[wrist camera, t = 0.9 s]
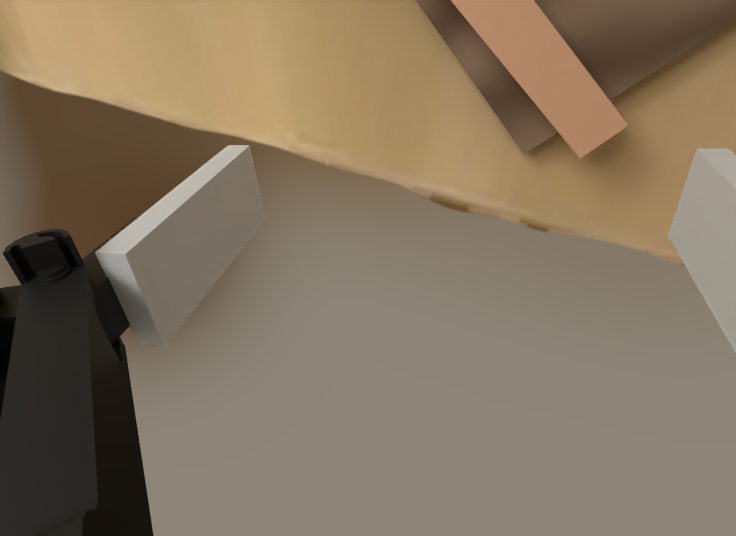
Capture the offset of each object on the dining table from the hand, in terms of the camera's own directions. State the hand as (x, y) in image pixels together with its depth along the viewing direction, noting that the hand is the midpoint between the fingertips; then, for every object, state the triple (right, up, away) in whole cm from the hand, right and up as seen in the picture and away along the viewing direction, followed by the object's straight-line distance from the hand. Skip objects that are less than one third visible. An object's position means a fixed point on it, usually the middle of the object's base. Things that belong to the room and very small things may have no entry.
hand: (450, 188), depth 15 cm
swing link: (+5, +12, +13) cm, 18 cm away
